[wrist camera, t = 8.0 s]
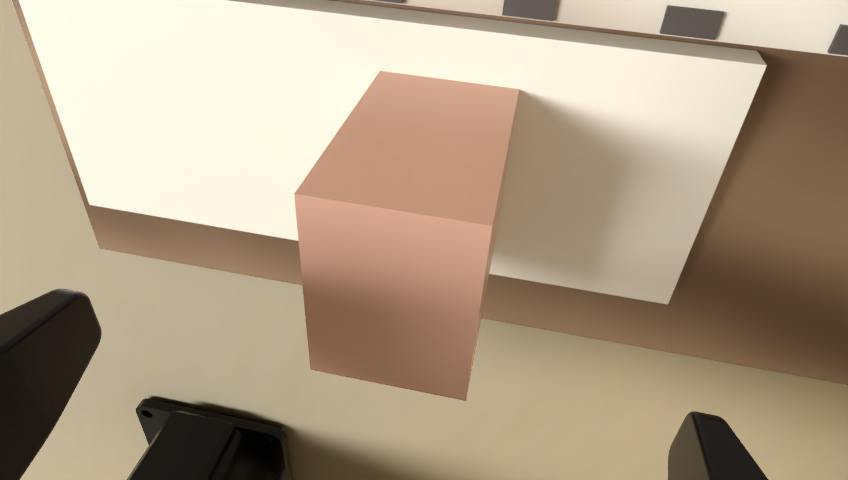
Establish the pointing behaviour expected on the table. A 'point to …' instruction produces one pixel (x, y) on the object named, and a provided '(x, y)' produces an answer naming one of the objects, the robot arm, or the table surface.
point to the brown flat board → (723, 222)
